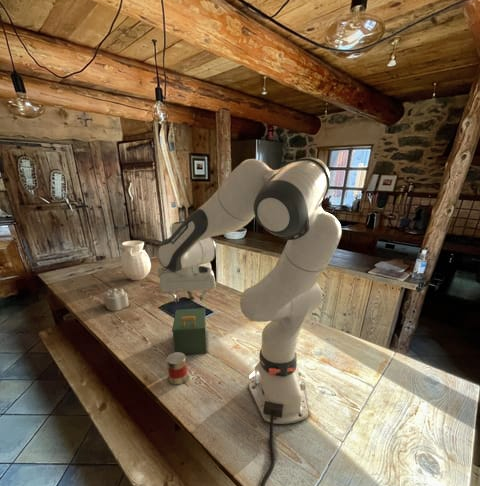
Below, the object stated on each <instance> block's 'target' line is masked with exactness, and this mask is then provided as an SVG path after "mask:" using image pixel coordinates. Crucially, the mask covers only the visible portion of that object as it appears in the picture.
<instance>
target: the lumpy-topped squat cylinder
mask: <svg viewBox="0 0 480 486" xmlns="http://www.w3.org/2000/svg"><path fill="white" fill-rule="evenodd" d="M128 297H129V296H128V293H127V292H126V291H125V290H124V289H123V288H111V289H108V290H106V291H105V292H103V299H104V304H105V307H106V309H107V310H109V311H112V312H118V311H120V310H122V309H125V308H128V307H129V305H130V303H129V298H128Z"/></svg>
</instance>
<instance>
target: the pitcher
mask: <svg viewBox="0 0 480 486" xmlns="http://www.w3.org/2000/svg"><path fill="white" fill-rule="evenodd" d="M121 245H122V248H123V249H124V252H122V254H121V255H120V258H121V268H122V272H123V273H124V275H125V276H126V277H127V278H129V279H130V280H132V281H141V280H144V279H145V278H146V277H147V276H148V275H149V273H150V271H151V269H152V264H151V259H150V256H149V254H148V253H147V252H146V249H144V245H145V241H143V240H128V241H127V240H126V241H124V242H121Z"/></svg>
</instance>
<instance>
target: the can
mask: <svg viewBox="0 0 480 486" xmlns="http://www.w3.org/2000/svg"><path fill="white" fill-rule="evenodd" d="M186 358H187V357H186V354H185V355H184V354H183V353H181V352H175V351H174V352H172V353H170V354H169V355H167V356H166V367H167V373H168V375H167V376H168V380H169V383H170V384H172V385H181V384H183V383H185V382H186V381H187V379H188V367H187V359H186Z"/></svg>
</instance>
